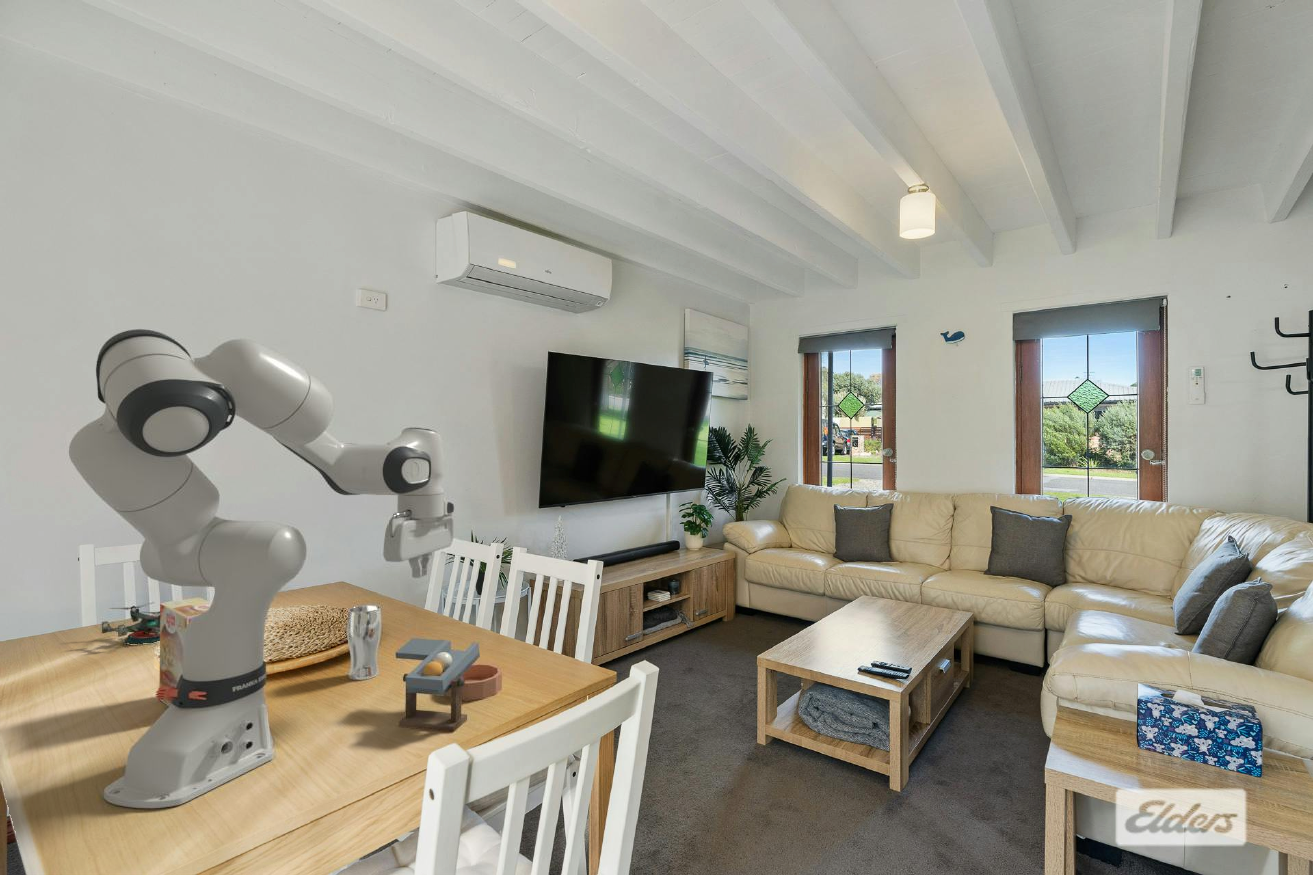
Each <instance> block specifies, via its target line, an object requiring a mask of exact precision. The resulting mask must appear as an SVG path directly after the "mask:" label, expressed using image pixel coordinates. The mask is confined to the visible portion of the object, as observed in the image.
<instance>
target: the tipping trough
mask: <svg viewBox="0 0 1313 875" xmlns="http://www.w3.org/2000/svg"><path fill="white" fill-rule="evenodd" d="M441 652H446V653H448V654H450V655H451V657H452V664H451V666H450V667H449V668H448V669H447V670H446V671H443V672H442V675H441V676H430V675H423V669H424V667H425V666H426V664H428V663H429V662H433V659H434V657H435V656H436V655H437V654H439V653H441ZM480 655H481V654H480V643H479V642H476V641H475V642H472V643H471V644H470V645H469V646H468V647H466V649H465V650H461V649H460V650H457V649H452V642H451V640H446V639H445V640H443V639H431V638H430V639H429V638H419V637H418V638H416V637H412V638H411V639H409V641H408V642H406V643H405V644H404V645H402V647H400V648H399V649H397V651H396V652H395V658H396V659H401V660H402V659H403V660H412V661H413V660H415V661H421V662H420V663H419V664H418V665H417V666H415V668H414V669H413V670H411V671H410V672H409V673H407V674H408V675H407V676H406V677H405V678H406V682H405V689H406V688H407V692H408V693H417V694H420V695H430V696H431V695H432V696H446V695H447V692H448V691H449V690H450V689H451V681H452V680H453V679H455V678H456V677H462V675H463V674H464V673H465V672H466V671H467V670H468V669H469V668H470V667H471V666H472V664H475V662H476V661H477V660H478V659H479V658H480Z"/></svg>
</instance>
